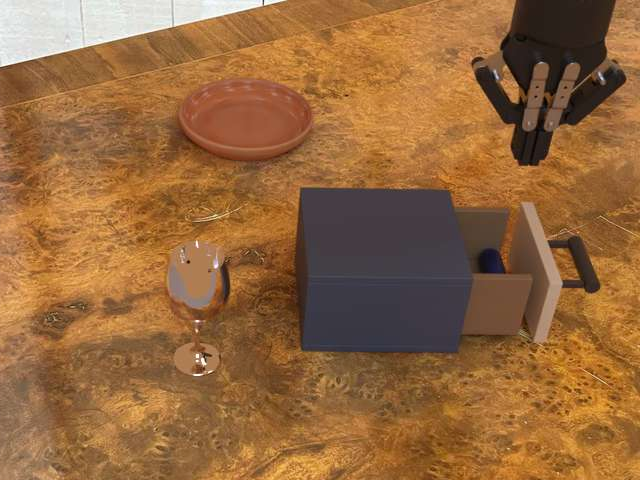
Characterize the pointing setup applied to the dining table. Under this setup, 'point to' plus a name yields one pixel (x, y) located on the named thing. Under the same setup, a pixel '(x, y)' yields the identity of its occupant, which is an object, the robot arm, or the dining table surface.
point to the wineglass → (197, 299)
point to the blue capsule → (491, 262)
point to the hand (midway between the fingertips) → (526, 160)
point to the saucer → (246, 118)
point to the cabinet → (380, 270)
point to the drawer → (517, 272)
